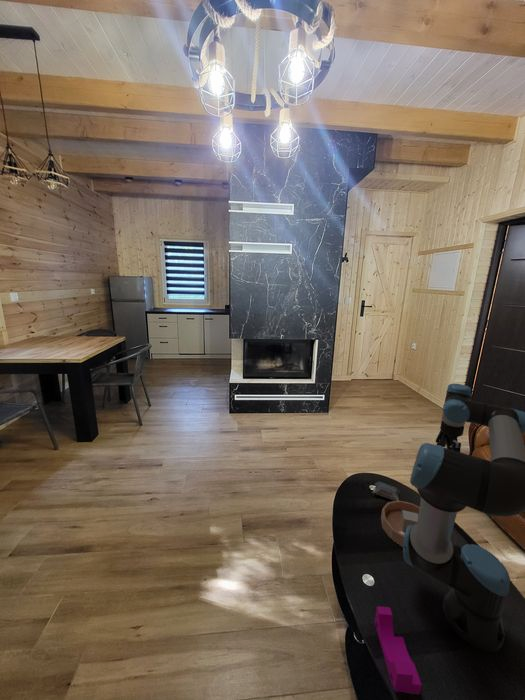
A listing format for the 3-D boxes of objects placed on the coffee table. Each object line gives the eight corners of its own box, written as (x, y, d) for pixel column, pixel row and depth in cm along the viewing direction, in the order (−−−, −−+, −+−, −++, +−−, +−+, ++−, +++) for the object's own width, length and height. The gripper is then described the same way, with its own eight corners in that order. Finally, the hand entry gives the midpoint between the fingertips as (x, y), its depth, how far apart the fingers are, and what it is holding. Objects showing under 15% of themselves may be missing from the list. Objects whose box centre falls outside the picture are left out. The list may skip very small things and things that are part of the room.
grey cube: (418, 534, 116) (420, 522, 114) (402, 530, 117) (404, 518, 116) (415, 525, 120) (417, 513, 119) (400, 521, 122) (402, 509, 121)
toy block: (419, 698, 70) (423, 676, 69) (393, 695, 70) (397, 673, 69) (395, 627, 85) (398, 608, 83) (374, 625, 85) (376, 606, 83)
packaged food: (397, 506, 132) (399, 496, 131) (371, 495, 137) (373, 486, 136) (399, 495, 139) (401, 486, 138) (374, 486, 145) (375, 477, 144)
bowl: (446, 560, 106) (448, 549, 105) (384, 544, 112) (386, 534, 111) (430, 517, 126) (432, 507, 125) (379, 505, 132) (380, 496, 131)
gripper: (478, 440, 97) (467, 493, 101) (451, 411, 120) (443, 455, 125) (454, 437, 99) (444, 489, 103) (432, 408, 122) (424, 452, 127)
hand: (443, 470), depth 114 cm, fingers open, 13 cm apart
